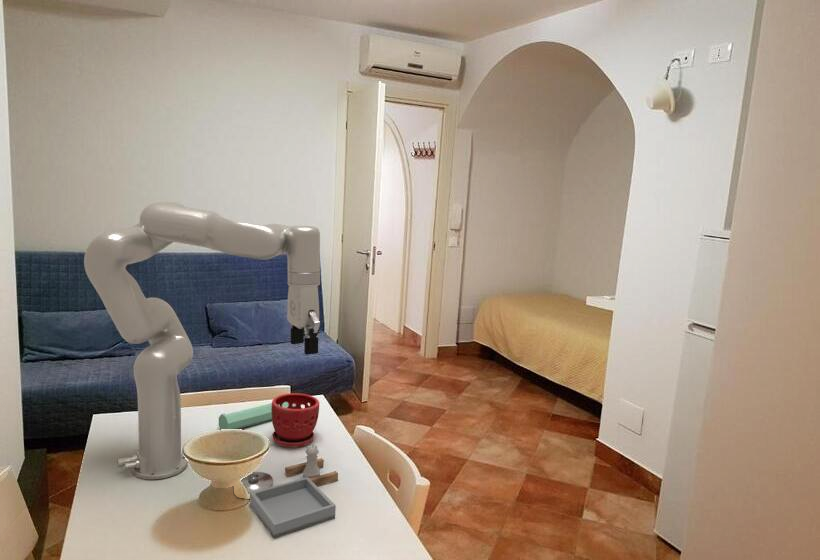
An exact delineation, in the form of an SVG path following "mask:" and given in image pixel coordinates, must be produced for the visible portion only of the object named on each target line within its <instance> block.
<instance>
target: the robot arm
mask: <svg viewBox="0 0 820 560" xmlns="http://www.w3.org/2000/svg"><path fill="white" fill-rule="evenodd" d="M173 243H177V244H186V245H191V246H196V247H202V248H206V249H210V250H213V251H217V252H221V253H225V254H227V255H232V256H238V257H243V258H250V259H255V260H270V259H273V258H274V257H277V256H281V255H286V257H287V285H288V289H287V290H288V292H287V304H286V305H287V306H286V308H287V309H286V319H287V321H288V322H289V324H290V326H289V327H290V345H298V344H300V345H301V344H303V343H304V345H303V346H304V350H303V351H304V355H306V356H307V355H316V354H319V338H320V337H319V336H320V334H319V332H320V325H321V323H320V299H319V298H320V297H319V289H318V288H319V287H318V286H320V285H321V232H320V230H319V228H318V227H316V226H313V225H312V226H311V225H293V226H291V225H284V224H277V223H271V224H270V223H269V224H264V225H259V224H253V223H252V224H251V223H247V222H246V223H245V222H239V221H235V220H232V219H228V218H224V217H223V216H222V215H220V214H219V213H218V212H215V211H213V210H204V209H198V208H193V207H187V206H184V205H183V204H181V203H179V202H175V201H166V202H165V201H164V202H161V201H160V202H154V203H150V204H149V205H147V206H145V207H144V209H143V210H142V212H141V213H140V216H139V222H138V223H137V224H136V225H134V226H132V227H127V228H118V229H111V230H108V231H104V232H102V233H100V234H99V235H97V236H95V238H93V239H92V241H91V242H90V243H89V244H88V246H87V247H86V250H85V253H84V258H83V264H84V265H83V266H84V271H85V274H86V275H87V278H88V280H89V282H90V283H91V285H92V286H93V287H94V289H95V291H96V292H97V294H98V296H99V297H100V300H101V302H102V303H103V306H104V307H105V309H106V311H107V313H108V315H109V316H110V318H111V320H112V322H113V324H114V326H115V328H116V330H117V331H118V332H119V335H120V336H121V337H122V339H123V340H124V341H126V342H127V343H129V344H133V345H134V344H135V345H137V344H142V343H145V342H148V343H149V345H148V346H147V347H146V348H144V349H143V350H142V351H141V352H140V353H139V354H138V355H137V357H136V359H135V361H134V362H133V377H134V381H135V385H136V386H135V387H136V392H137V393H136V394H137V413H138V414H137V415H138V416H137V417H138V418H137V419H138V421H137V423H138V424H137V425H138V449H136V450H135V454H131V456H128V457H122V458H117V460H116V463H117V467H118V468H121V467H124V469H125V470H129V469H131V470H132V471H131V472H132V475H134V476H135V477H136V478H139V479H143V480H162V479H167V478H170V477H173V476H177V475H178V474H180V473H181V472H183V471H184V470H185V469H186V468H187V467H188V461H189V460H188V461H187V460H186V459H185V457H184V456H183V454H184V453H182V417H181V416H182V409H181V408H182V406H181V405H182V404H181V398H182V397H181V391H180V386H179V383H178V375H179V374H180V373H181V372H182V371H184V370H185V369H186V368H187V367H188V366H189V365H190V364H191V362H192V360H193V358H194V348H193V345H192V342H191V340H190V338H189V336H188V334H187V333H186V330H185V329H184V326H183V325H182V323H181V321H180V319H179V317H178V316H177V314H176V312H175V310H174V308H172V307H173V306H171V305H170V304H169V303H168V302H166V300H164V299H161V298H159V297H147V298H146V296H145V295H144V293H143V291H142V288H141V287H140V285H139V283H138V282H137V280H136V279H135V277H133V276H132V274H130V273H129V272H128V270H127V269H126V267H127V266H128V265H132V264H136V263H139V262H140V263H141V262H143V261H146V260H147V259H150V258H151V257H153V256H154V255H156V254H158V253H159V252H160V251H162V250H164V249H165V248H167V247H168V246H170V245H171V244H173Z"/></svg>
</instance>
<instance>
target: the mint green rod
mask: <svg viewBox="0 0 820 560" xmlns="http://www.w3.org/2000/svg"><path fill="white" fill-rule="evenodd" d="M288 405H289V404H288V402H284V403H283V404H282V407H284V408H287V407H288ZM278 406H280V404H279V405H278ZM292 406H293V407H295V406H296V404H293V405H292ZM271 408H272V402H270V403H266V404H263V405H259V406H255V407H251V408H246V409H244V410H240V411H239V410H238V411H235V412H232V413H225V412H224V413H221V414H220V415H219V417H218V427H219V429H220V431H221V429H238V430H240V429H241V430H242V429H243V428H248V427H253V426H256V425H259V424H262V423H266V422H269V421H272V414H271Z"/></svg>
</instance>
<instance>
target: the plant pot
mask: <svg viewBox="0 0 820 560" xmlns="http://www.w3.org/2000/svg"><path fill="white" fill-rule="evenodd" d="M284 402H288V404H289V405H288V407H287V408H284V407H282V404H283V403H284ZM271 403H272V408H271V414H272V420H271V421H272V426H273V430H274V431H273V432H272V433H271V434H272V435H271V439H272V440H273V441H274V443H276V444H277V445H279V446H281V447H285V448H300V447H303V446H306V445H309V443H311V442H312V441H313V440H314V437H315V433H314V430H315V428H316V427H317V423H318V419H319V414H320V400H319V399H318V398H316V397H315V396H312V395H309V394H306V393H297V392H295V393H284V394H279V395H277V396H275V397H274V398H273V399H272V401H271ZM279 404H280V406H278V405H279ZM293 404H296V406H295V407H293V406H292V405H293ZM302 405H303V406H304V408H303V407H302Z"/></svg>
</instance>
